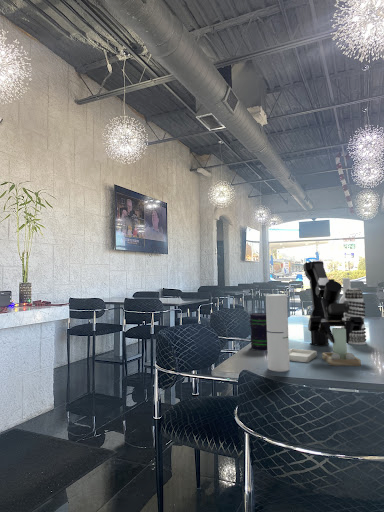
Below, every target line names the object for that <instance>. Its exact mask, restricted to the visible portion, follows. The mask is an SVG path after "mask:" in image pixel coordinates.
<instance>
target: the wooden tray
mask: <svg viewBox="0 0 384 512" xmlns="http://www.w3.org/2000/svg"><path fill="white" fill-rule="evenodd" d="M348 353H349V352H347V354H348ZM332 354H333V352H321V357H322V359H323V360H324V361H325V362H326V363H327V364H328V365H329V366H330V367H333V366H334V367H337V366H338V367H341V366H342V367H361V366H362V364H361V363H362V362H361V361H362V360H361V359H360V358H358V357H357V356H355V360H343V359H331V355H332Z"/></svg>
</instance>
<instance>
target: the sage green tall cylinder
mask: <svg viewBox="0 0 384 512" xmlns="http://www.w3.org/2000/svg"><path fill="white" fill-rule="evenodd" d="M331 332H332V335H333V338H334V343H332V351H333V352H332V353H337V354H339V355H340V359H343V360H347V359H346V355H347V353H348V345H347V344H348V343H347V342H346V329H345V328H341V327H332V328H331Z"/></svg>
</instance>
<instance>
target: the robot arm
mask: <svg viewBox="0 0 384 512" xmlns="http://www.w3.org/2000/svg"><path fill="white" fill-rule="evenodd" d="M324 265H325V264H324V261H323V260H321V259H320V260H319V259H318V260H311V261H306V262H304V263H303V272H304V273H305V277H306V278H307V279H308V280H309V288H310V296H311V303H312V305H311V306H312V311H311V313H310V315H309V320H308V325H307V327H308V328H307V329H308V331H309V332H310V340H311V341H310V342H309V345H312V346H319V347H324V346H325V347H326V346H328V345H330V343H329V342H331V343H332V344H333V343H334V338H333V335H332V328H331V327H341V326H343V327H344V328H345V329H346V342H347V344H349V343H348V342H349V333H351V332H352V331H360V330H361V328H362V325H363V322H364V323H365V320H364V321H363V319H362V317H350V320H349V321H345V320H342V318H344V314H343V313H345V312H348V311H349V310H350V308H349V304H348V302H347V303H339V302H338V300H340V295H341V291H342V288H343V285H342V284H341V283H340V282H338V281H335V279H333V278H330V279H329V278H328V276H327V273H326V270H325V268H324V267H325V266H324Z"/></svg>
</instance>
